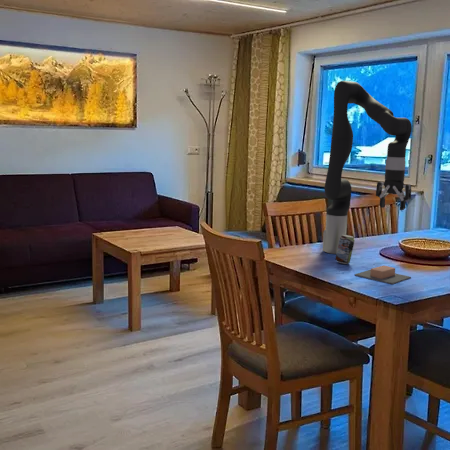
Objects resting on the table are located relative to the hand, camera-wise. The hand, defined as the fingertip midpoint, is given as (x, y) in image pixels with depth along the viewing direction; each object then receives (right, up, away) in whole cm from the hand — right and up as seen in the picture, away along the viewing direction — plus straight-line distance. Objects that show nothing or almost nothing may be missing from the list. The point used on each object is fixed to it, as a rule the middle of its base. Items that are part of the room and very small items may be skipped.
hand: (392, 208), depth 231 cm
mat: (-7, -26, -12) cm, 30 cm away
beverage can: (-18, -23, +8) cm, 30 cm away
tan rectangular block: (-7, -26, -12) cm, 29 cm away
